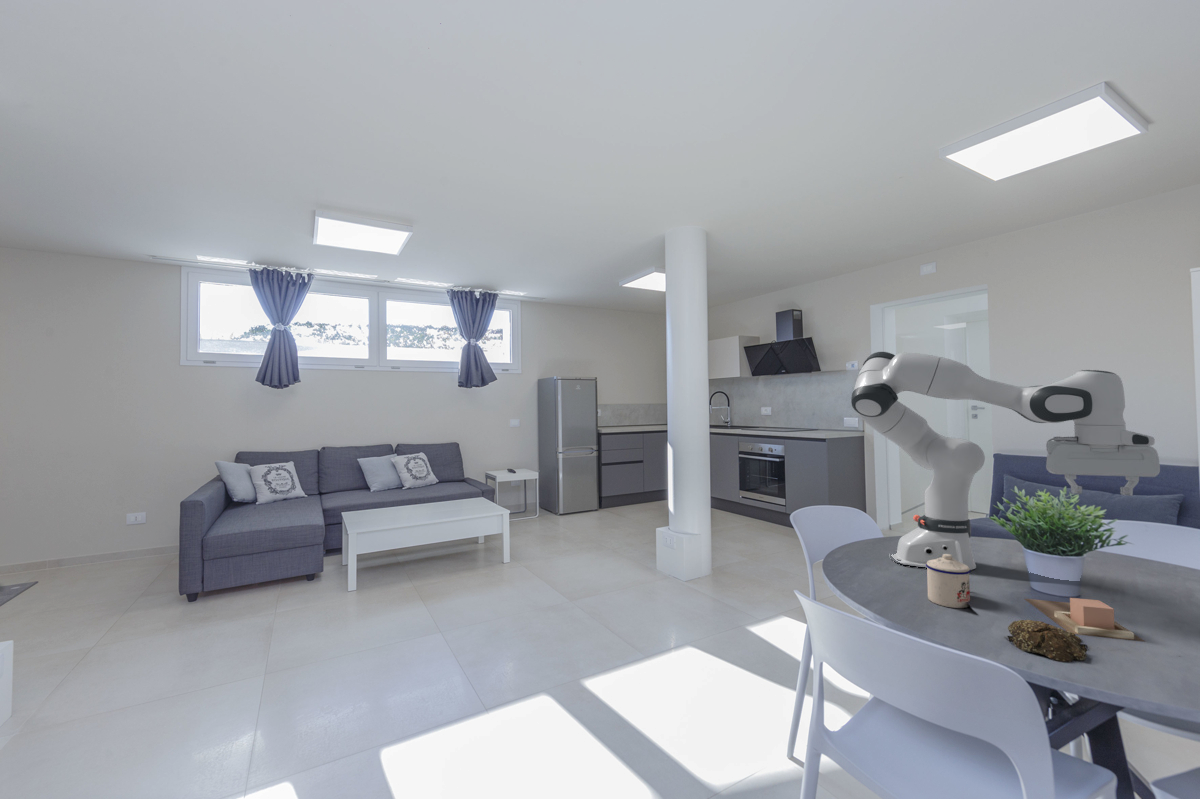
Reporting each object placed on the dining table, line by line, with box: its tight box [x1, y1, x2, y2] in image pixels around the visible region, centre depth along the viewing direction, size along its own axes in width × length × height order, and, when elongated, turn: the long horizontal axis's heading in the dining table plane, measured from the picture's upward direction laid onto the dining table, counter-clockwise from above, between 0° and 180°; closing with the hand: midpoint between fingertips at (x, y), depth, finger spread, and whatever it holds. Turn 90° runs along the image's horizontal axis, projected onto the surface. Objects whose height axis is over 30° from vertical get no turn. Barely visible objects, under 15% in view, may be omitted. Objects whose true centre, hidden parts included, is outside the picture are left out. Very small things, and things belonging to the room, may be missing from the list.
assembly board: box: [1024, 598, 1146, 643], centre depth 111 cm, size 12×20×3 cm, turn 161°
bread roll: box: [1007, 619, 1088, 663], centre depth 101 cm, size 13×12×5 cm
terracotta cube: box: [1069, 597, 1115, 630], centre depth 106 cm, size 5×5×5 cm
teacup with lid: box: [926, 554, 971, 609], centre depth 126 cm, size 12×9×12 cm
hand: (1101, 494), depth 121 cm, fingers open, 8 cm apart
